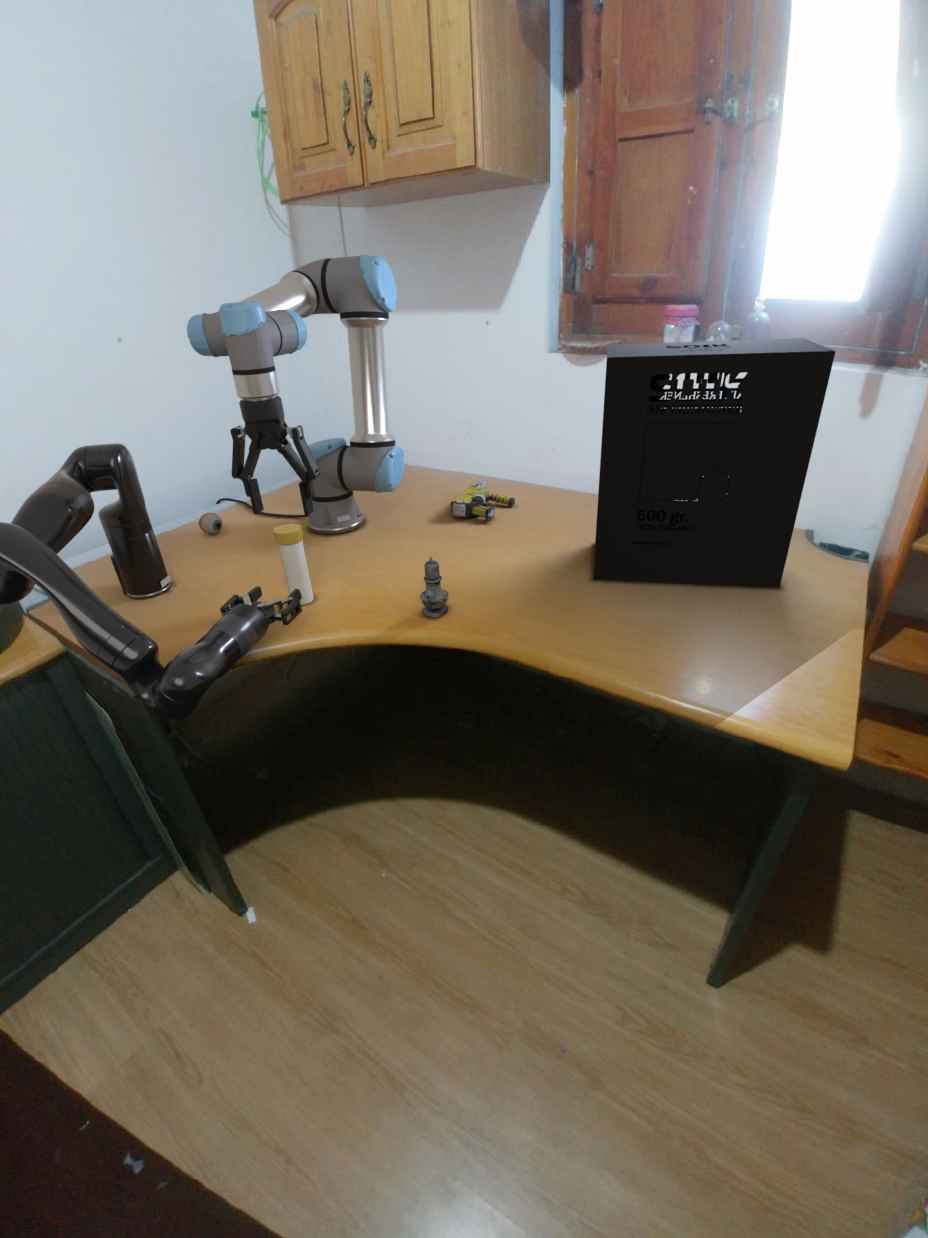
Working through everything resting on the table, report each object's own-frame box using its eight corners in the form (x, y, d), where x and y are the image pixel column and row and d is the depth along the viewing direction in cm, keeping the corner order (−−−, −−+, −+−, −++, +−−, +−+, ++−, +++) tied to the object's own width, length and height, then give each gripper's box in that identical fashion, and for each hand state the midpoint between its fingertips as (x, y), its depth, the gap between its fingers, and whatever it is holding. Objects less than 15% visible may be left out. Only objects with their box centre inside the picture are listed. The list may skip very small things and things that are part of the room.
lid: (290, 532, 127) (288, 521, 126) (309, 537, 125) (307, 526, 123) (269, 541, 123) (266, 530, 122) (288, 546, 121) (286, 535, 119)
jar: (302, 592, 134) (288, 524, 126) (318, 597, 132) (304, 528, 124) (285, 601, 131) (270, 532, 123) (301, 607, 128) (286, 536, 120)
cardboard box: (759, 548, 141) (803, 338, 119) (779, 587, 124) (835, 350, 102) (595, 543, 149) (607, 344, 126) (593, 579, 132) (607, 357, 109)
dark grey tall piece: (446, 618, 120) (442, 563, 114) (417, 616, 122) (412, 562, 116) (452, 604, 125) (448, 551, 119) (425, 602, 126) (420, 550, 120)
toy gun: (523, 485, 181) (476, 478, 185) (501, 509, 161) (448, 500, 165) (521, 500, 184) (475, 493, 187) (499, 525, 163) (447, 517, 167)
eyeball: (212, 539, 164) (206, 518, 161) (197, 535, 167) (191, 515, 164) (230, 531, 169) (224, 511, 166) (215, 528, 172) (210, 508, 169)
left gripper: (206, 648, 111) (251, 605, 124) (276, 654, 108) (315, 610, 121) (195, 612, 107) (243, 572, 121) (268, 618, 104) (308, 576, 118)
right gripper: (326, 392, 111) (344, 507, 122) (215, 394, 116) (242, 504, 127) (308, 400, 105) (329, 520, 116) (192, 401, 109) (222, 517, 120)
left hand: (279, 591), depth 121 cm, fingers open, 8 cm apart
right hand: (283, 512), depth 121 cm, fingers open, 10 cm apart
